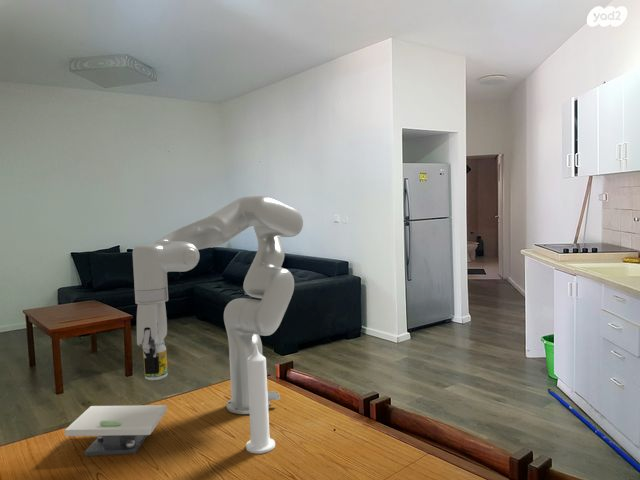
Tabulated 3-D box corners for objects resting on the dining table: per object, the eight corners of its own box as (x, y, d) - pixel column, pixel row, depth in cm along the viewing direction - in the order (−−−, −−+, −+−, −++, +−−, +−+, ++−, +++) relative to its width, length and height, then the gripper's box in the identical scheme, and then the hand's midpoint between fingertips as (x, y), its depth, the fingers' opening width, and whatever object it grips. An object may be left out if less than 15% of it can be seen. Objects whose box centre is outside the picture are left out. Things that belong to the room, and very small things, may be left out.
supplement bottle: (163, 371, 124) (161, 333, 123) (170, 377, 119) (168, 338, 119) (141, 376, 120) (139, 337, 120) (148, 382, 116) (146, 342, 116)
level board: (166, 410, 131) (166, 400, 131) (149, 434, 117) (149, 423, 117) (91, 411, 131) (90, 401, 131) (65, 436, 117) (64, 424, 117)
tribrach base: (152, 429, 131) (151, 413, 131) (135, 453, 118) (133, 436, 118) (106, 431, 131) (105, 415, 130) (84, 456, 118) (83, 438, 117)
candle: (279, 441, 121) (275, 341, 119) (267, 455, 115) (262, 350, 113) (254, 438, 124) (249, 340, 122) (240, 451, 117) (235, 348, 115)
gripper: (146, 290, 127) (150, 359, 128) (123, 303, 110) (128, 382, 111) (175, 289, 127) (179, 357, 129) (157, 301, 110) (162, 380, 111)
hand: (155, 368), depth 120 cm, fingers closed on supplement bottle, 5 cm apart
